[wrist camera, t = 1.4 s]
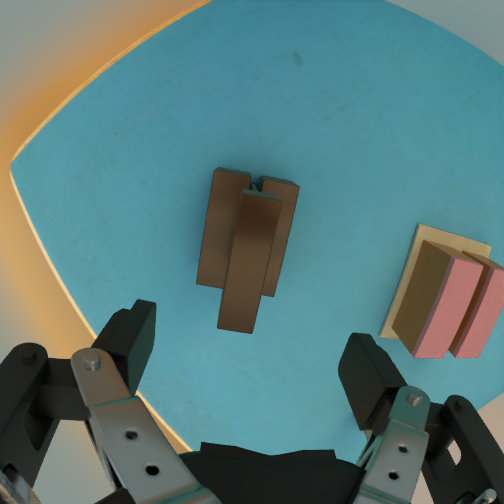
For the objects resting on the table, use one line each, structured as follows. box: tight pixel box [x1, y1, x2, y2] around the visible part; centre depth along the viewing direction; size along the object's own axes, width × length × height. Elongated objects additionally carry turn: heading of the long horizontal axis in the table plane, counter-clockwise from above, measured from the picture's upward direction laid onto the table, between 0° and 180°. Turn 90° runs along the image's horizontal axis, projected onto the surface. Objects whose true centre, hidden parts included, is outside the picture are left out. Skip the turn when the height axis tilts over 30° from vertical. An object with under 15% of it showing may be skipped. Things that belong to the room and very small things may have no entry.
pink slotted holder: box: [379, 223, 504, 358], centre depth 30 cm, size 14×13×7 cm
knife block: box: [196, 167, 300, 297], centre depth 28 cm, size 10×7×4 cm
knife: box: [217, 184, 282, 334], centre depth 24 cm, size 9×2×11 cm, turn 169°
